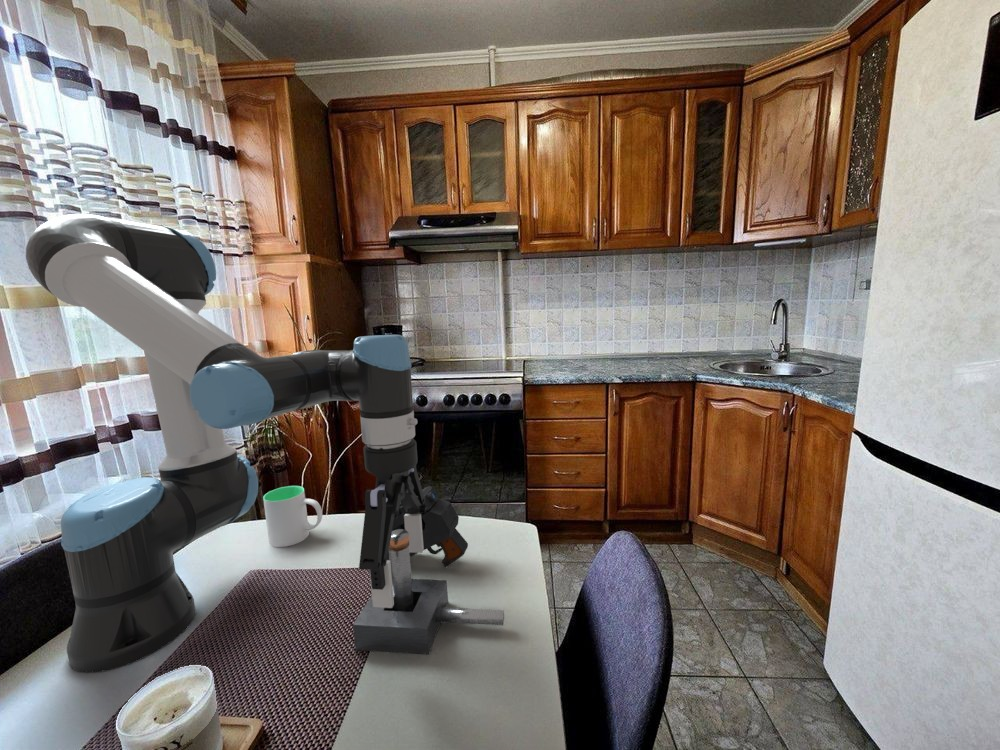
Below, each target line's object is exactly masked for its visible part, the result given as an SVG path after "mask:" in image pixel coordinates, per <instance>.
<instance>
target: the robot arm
mask: <svg viewBox="0 0 1000 750" xmlns="http://www.w3.org/2000/svg"><path fill="white" fill-rule="evenodd" d="M212 255H213V254H212V253H211V252H210V250H209V249H208V247H207V246H206V244H204V243H203V241H202V240H200V239H199V238H197V236H195V235H193V234H192V233H190V232H188V231H185V230H180V229H175V228H172V227H169V226H166V225H156V224H155V225H154V224H147V223H142V222H135V221H129V220H124V219H118V218H111V217H105V216H101V215H95V214H87V213H81V214H80V213H74V214H73V213H72V214H66V215H61V216H58V217H54V218H52V219H50V220H48V221H46V222H45V223H44V222H43V223H42V224H41V225H40V226H38V227H37V228H36V229H35V231H33V232H32V234H31V236H29V239H28V241H27V244H26V247H25V259H26V262H27V267H28V270H29V271H30V272H31V274H32V276H33V278H34V279H35V280H36V281H37V282H38V284H39V285H41V287H42V288H44V289H45V290H46V291H47V292H49V293H50V294H51V295H53V296H54V297H56V298H57V299H58V300H59V301H61V302H63V303H65V304H68V305H71V306H73V307H80V308H84V309H86V310H88V312H90V313H91V314H93V315H94V316H95V317H97V318H98V319H100V320H101V321H103V322H104V323H106V325H108V326H109V327H111V328H112V329H114V330H115V331H116V332H118V333H119V334H120V335H122V337H125V338H126V339H127V340H129V341H130V342H131V343H133V344H134V345H136V346H137V347H138V348H140V349H141V350H143V354H144V359H145V362H146V367H147V372H148V377H149V380H150V385H151V390H152V393H153V399H154V403H155V408H156V412H157V416H158V421H159V425H160V429H161V435H162V438H163V443H164V448H165V453H166V456H165V457H164V459H163V460H162V461H161V463H160V464H159V465H158V467H157V469H158V472H159V478H160V480H159V479H158V478H157V477H150V476H149V477H148V476H145V477H144V476H143V477H135V478H130V479H127V480H125V481H122V482H119V481H118V482H115V483H113V484H109V485H107V486H103V487H101V488H99V489H96V490H94V491H92V492H90V493H88V494H86V495H83V496H82V497H80V498H79V499H78V500H75V501H74V502H73V503H72V504H70V505H69V506H68V508H67V509H66V510H65V511H64V512H63V514H62V515H61V519H60V529H61V530H60V531H61V541H60V545H61V547H62V549H63V551H64V555H65V560H66V565H67V569H68V574H69V578H70V584H71V588H72V593H73V597H74V602H75V611H74V616H73V621H72V625H71V631H70V637H69V639H68V642H67V645H66V653H67V660H68V664H69V666H70V668H71V669H72V670H74V671H76V672H79V673H86V674H89V673H101V672H106V671H111V670H115V669H118V668H122V667H123V666H124V667H125V666H127V665H130V664H133V663H134V662H137V661H140V660H142V659H144V658H146V657H148V656H149V655H152V654H154V653H156V652H157V651H159V650H161V649H162V648H164V647H166V646H167V645H169V644H170V643H172V642H173V641H174V640H175V639H177V638H178V637H179V636H180V635H182V634H183V633H184V632H185V631H186V630H187V629H188V628H189V626H190V625H191V624H192V623H193V621H194V619H195V616H196V614H197V611H196V603H195V598H194V595H192V593H191V592H190V591H189V588H188V587H187V585H186V583H185V582H184V581H183V580H182V578H181V577H180V576H179V574H178V573H177V571H176V566H175V560H174V552H175V551H177V550H178V549H181V548H183V546H186V545H188V544H190V543H192V542H194V541H196V540H197V539H200V538H201V537H204V536H206V535H207V534H210V533H212V532H214V531H216V530H218V529H220V528H222V527H225V526H227V525H230V524H232V523H233V522H234V521H236V520H237V519H238V518H240V517H242V516H243V515H245V514H246V513H248V512H249V510H250V509H251V508H252V506H253V505H254V504H255V502H256V500H257V497H258V492H259V478H258V474H257V472H256V469H255V467H254V466H251V462H250V460H249V459H247V458H246V457H244V456H242V455H238V452H237V448H236V447H234V446H232V445H230V444H228V443H227V442H226V441H225V437H224V433H223V430H227V429H233V428H237V427H242V426H250V425H254V424H255V425H256V424H257V423H259V422H263V421H264V420H265V421H266V420H268V419H272V418H275V417H278V416H281V415H284V414H288V413H290V412H295V411H299V410H302V409H305V408H309V407H312V406H315V405H321V404H323V403H326V402H333V401H337V402H340V401H341V402H342V401H343V402H344V401H345V402H347V401H348V402H358V407H359V408H358V409H359V414H360V415H359V416H360V417H359V418H360V428H361V441H362V443H364V444H365V445H364V447H362V449H363V458H364V460H363V461H364V467H365V468H364V469H365V470H366V472H368V473H370V474H372V475H374V477H375V486H374V487H375V488H374V489H366V490H365V492H364V503H365V504H364V505H365V507H364V508H365V510H364V516H363V517H364V519H363V528H362V536H361V537H362V539H361V549H360V555H359V565H358V568H359V570H368V571H369V576H370V577H369V578H370V580H369V581H370V587H371V589H370V590H371V596H372V601H373V607H381V608H392V607H393V605H394V598H393V587H392V575H391V564H390V561H389V560H387V557H388V551H389V545H390V540H391V534H392V528H393V522H394V516H395V515H396V514H397V513H398V512H399V507H400V503H401V504H402V506H403V507H404V509H405V511H406V512H409V514H405V515H404V523H405V530H406V531H407V532H408V533H409V552H412V553H417V554H418V553H419V554H420V553H421V554H422V553H424V551H425V550H424V547H423V533H422V520H421V514H420V513H419V512H422V513H425V512H426V505H421V504H424V503H425V497H424V494H423V490H422V489H423V488H422V484H421V480H420V478H419V474H418V471H417V464H418V449H417V446H418V445H417V441H416V440H415V439H414V438H415V436H416V425H417V424H418V419H417V418H415V412H414V403H413V386H412V365H413V364H412V362H411V357H410V351H409V349H410V348H409V344H408V343H409V342H408V339H406V337H405V336H403V335H402V334H382V335H380V334H379V335H378V334H377V335H376V334H375V335H364V336H358V337H356V338H355V339H354V341H353V349H350V350H330V349H329V350H328V349H327V350H325V349H324V350H321V349H310V350H302V351H297V352H294V353H292V354H288V355H287V354H286V355H280V356H271V357H264V356H262V355H260V354H258V353H257V352H255V351H254V350H252V349H251V348H249V347H247V346H246V345H244V344H242V343H241V342H240V341H238V340H237V339H236V338H234V337H233V336H232V335H230V334H228V333H227V332H225V331H224V330H223V329H221V328H219V327H218V326H216V325H215V323H214V324H213V323H212V322H211V321H209V320H208V319H206V318H205V317H203V315H200V314H199V313H200V311H202V309H203V308H205V306H206V305H207V300H206V296H207V295H209V294H210V293H211V292H212V291H213V289H214V287H215V281H216V280H217V269H216V264H215V263H216V262H215V260H214V257H213V256H212ZM417 496H418V497H417Z"/></svg>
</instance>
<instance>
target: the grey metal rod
mask: <svg viewBox="0 0 1000 750" xmlns="http://www.w3.org/2000/svg"><path fill="white" fill-rule="evenodd" d="M389 559H390V564H391V575H392V587H393V598H394V611H403V612H413V610H414V603H413V590H412V579H413V577H412V567H411V566H412V565H411V557H410V553H409V533H408V532H407V531H406V530H404V529H398V530H394V531H392V534H391V540H390V545H389Z"/></svg>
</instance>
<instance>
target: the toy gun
mask: <svg viewBox="0 0 1000 750" xmlns="http://www.w3.org/2000/svg"><path fill="white" fill-rule="evenodd" d="M422 490H423V494H424V497H425V503H424V504H421V505H426V512H425V513H422V512H419V513H420V514H421V520H422V533H423V547H424V551H426V550H427V551H428V552H429V553H430V554H431V555H437V554H439V553H440V552H441V551H443V554H444V557H443V559H442V560H441V564H442V566H443V568H446V569H447V568H448V567H449V566H450V565H451V566H452V564H453V563H455V562H456V561H458V560H459V559H460V558H461V557H463V556H464V555H465V553H466V551H467V549H468V546H469V543H468V541H466V540H465V538H464V536H462V534H461V533H460V532H459V531H458V529H457V526H458V525H459V519H460V516H459V514H458V513H457V512H456V509H455V508H454V506H453V504H452V503H451V501H447V500H444V499H443V498H442V499H441V498H439V495H438V494H437V493H436V490H435V489H434V487H432V486H430V485H429V486H428V485H427V486H425V487H424V488H422ZM417 497H418V496H417ZM405 514H409V512H406V511H405V509H404V507H403V506H402V504H401V503H400V507H399V512H398V513H397V514H396V515H395V516H394V522H393V528H392V531H394V530H398V529H404V530H405V523H404V515H405ZM435 545H436V546H437V548H438V549H436V550H435V549H433V548H432V547H433V546H435ZM409 553H410V558H411V557H412V556H414V555H416V554H418V553H412V552H409ZM387 560H389V561H390V559H389V551H388V557H387Z"/></svg>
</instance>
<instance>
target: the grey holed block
mask: <svg viewBox="0 0 1000 750" xmlns="http://www.w3.org/2000/svg"><path fill="white" fill-rule="evenodd" d="M412 590H413V603H414V610H413V612H403V611H394V605H393V607H392V608H381V607H373V601H372V595H371V596H370V597H369V599H368V601H367V602H366V604H365V605H364V606H363V608H362V610H361V612H360V613H359V615H358V616H357V618H356V619H355V621H354V623H352V630H353V631H352V632H353V639H354V640H353V641H354V649H355V651H368V652H382V653H395V654H396V653H398V654H411V655H426V656H427V655H429V656H430V653H431V651H432V647H433V645H434V642H435V640H436V637H437V634H438V631H439V629H440V626H441V624H442V623H446V624H447V623H451V624H469V625H470V624H471V625H485V626H486V625H490V626H504V623H505V610H504V609H490V608H489V609H486V608H485V609H484V608H467V607H466V608H465V607H448V605H449V594H448V593H449V592H448V580H447V579H424V578H423V579H422V578H412Z"/></svg>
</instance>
